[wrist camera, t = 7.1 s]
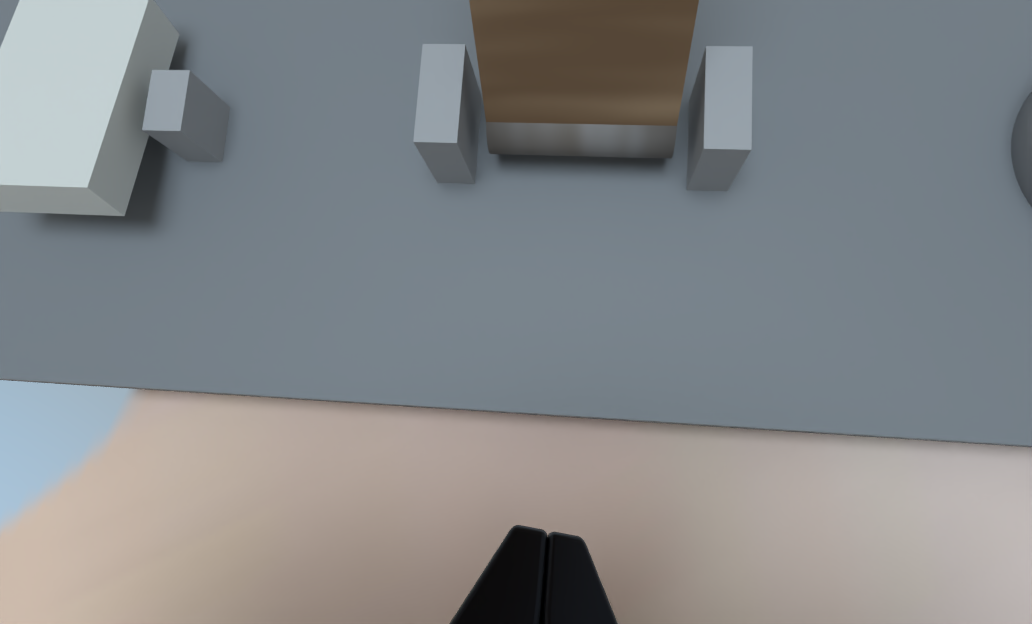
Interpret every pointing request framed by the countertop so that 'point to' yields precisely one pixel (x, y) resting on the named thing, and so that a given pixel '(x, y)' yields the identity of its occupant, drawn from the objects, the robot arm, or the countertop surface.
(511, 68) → the walnut lever
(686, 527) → the countertop surface
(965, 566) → the countertop surface
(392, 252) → the switch panel
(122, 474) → the countertop surface
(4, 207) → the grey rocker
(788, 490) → the countertop surface
